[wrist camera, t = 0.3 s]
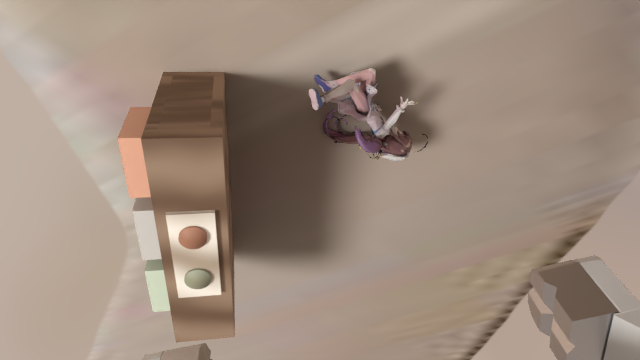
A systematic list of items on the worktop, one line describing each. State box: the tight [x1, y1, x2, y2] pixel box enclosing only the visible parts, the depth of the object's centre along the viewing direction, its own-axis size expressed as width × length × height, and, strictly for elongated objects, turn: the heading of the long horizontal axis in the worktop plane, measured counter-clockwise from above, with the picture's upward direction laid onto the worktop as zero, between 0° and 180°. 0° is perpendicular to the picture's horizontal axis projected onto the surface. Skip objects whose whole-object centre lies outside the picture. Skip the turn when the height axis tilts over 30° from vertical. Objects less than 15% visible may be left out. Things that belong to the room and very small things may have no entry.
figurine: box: [309, 68, 428, 162], centre depth 47 cm, size 12×9×15 cm
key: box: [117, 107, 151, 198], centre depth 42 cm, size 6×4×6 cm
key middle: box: [132, 197, 162, 260], centre depth 46 cm, size 6×4×6 cm
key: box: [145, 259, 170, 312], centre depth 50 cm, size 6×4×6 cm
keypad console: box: [141, 72, 235, 342], centre depth 47 cm, size 24×6×15 cm, turn 176°
